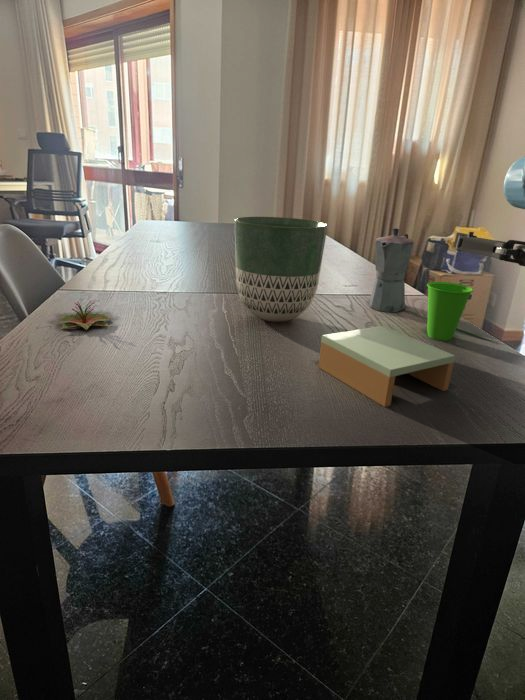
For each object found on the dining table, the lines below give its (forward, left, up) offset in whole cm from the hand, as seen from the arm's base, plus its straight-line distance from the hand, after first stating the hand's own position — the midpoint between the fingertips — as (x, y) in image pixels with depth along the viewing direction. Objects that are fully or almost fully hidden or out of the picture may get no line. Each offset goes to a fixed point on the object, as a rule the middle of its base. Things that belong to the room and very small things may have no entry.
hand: (491, 244), depth 88 cm
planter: (+31, +27, -21) cm, 46 cm away
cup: (+7, 0, -21) cm, 22 cm away
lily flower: (+42, +66, -21) cm, 81 cm away
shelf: (-4, +28, -21) cm, 35 cm away
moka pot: (+29, -6, -21) cm, 36 cm away
